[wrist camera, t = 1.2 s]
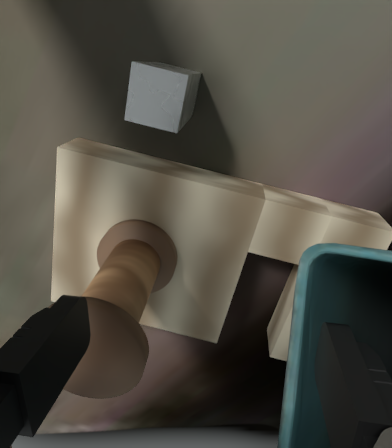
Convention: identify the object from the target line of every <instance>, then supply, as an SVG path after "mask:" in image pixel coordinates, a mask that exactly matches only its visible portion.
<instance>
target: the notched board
mask: <svg viewBox="0 0 392 448" xmlns="http://www.w3.org/2000/svg"><path fill="white" fill-rule="evenodd" d="M131 219H138V220H144V221H148V222H151V223H153V224H155V225H157V226H159V227H160V228H161V229H163V230H164V231H165V232H166V233H167V234H168V235H169V236H170V238H171V239H172V241H173V242H174V244H175V247H176V250H177V265H176V268H175V271H174V274H173V277H172V279H171V280H170V282H169V283H168V284H167V285H166V286H165V287H164V288H162V289H161V290H159V291H156V292H154V293H150V296H149V298H148V301H147V304H146V306H145V309H144V311H143V314H142V317H141V319H140V322H139V324H143V325H147V326H151V327H155V328H158V329H162V330H166V331H170V332H174V333H178V334H182V335H186V336H190V337H194V338H198V339H202V340H205V341H209V342H213V343H217V341H218V338H219V335H220V332H221V329H222V326H223V324H224V321H225V318H226V315H227V312H228V309H229V306H230V303H231V300H232V297H233V294H234V291H235V288H236V285H237V282H238V280H239V277H240V274H241V271H242V268H243V265H244V262H245V259H246V256H247V253H248V252H250V253H254V254H258V255H262V256H266V257H270V258H274V259H278V260H282V261H285V262H289V263H293V264H294V266H293V268H292V270H291V273H290V275H289V277H288V280H287V282H286V285H285V287H284V289H283V292H282V294H281V297H280V299H279V301H278V304H277V306H276V308H275V311H274V313H273V316H272V318H271V320H270V323H269V325H268V327H267V335H268V345H269V354H270V357H272V358H276V359H280V360H284V361H287V356H288V346H289V337H290V328H291V318H292V309H293V299H294V291H295V284H296V278H297V271H298V265H299V260H300V258H301V256H302V254H303V252H304V251H305V250H306V249H307V248H308V247H311V246H313V245H315V244H320V243H338V244H346V245H353V246H360V247H368V248H375V249H382V250H387V249H388V247H389V245H390V243H391V241H392V228H391V226H390V225H389V224H388V223H387V222H386V221H385V220H384V219H383V218H382V217H381V216H380V215H379V214H378V213H376V212H372V211H368V210H364V209H360V208H356V207H352V206H348V205H344V204H340V203H336V202H332V201H328V200H325V199H321V198H317V197H313V196H309V195H305V194H301V193H297V192H293V191H289V190H285V189H281V188H277V187H273V186H269V185H265V184H261V183H257V182H253V181H249V180H245V179H241V178H237V177H233V176H229V175H225V174H221V173H217V172H213V171H210V170H206V169H202V168H198V167H194V166H190V165H186V164H182V163H178V162H174V161H170V160H166V159H162V158H158V157H154V156H150V155H146V154H142V153H138V152H134V151H130V150H126V149H122V148H118V147H114V146H110V145H106V144H102V143H98V142H94V141H91V140H87V139H83V138H79V137H78V138H76V139H74V140H72V141H70V142H67V143H65V144H63V145H61V146H59V147H57V166H56V190H55V215H54V239H53V264H52V288H51V301H53V302H56V301H57V300H58V299H59V298H60V297H61V296H62V295H71V296H82V295H83V293H84V292H85V290H86V289H87V287H88V286H89V284H90V283H91V281H92V280H93V278H94V277H95V275H96V274H97V272H98V271H99V269H100V268H99V265H98V262H97V248H98V245H99V243H100V241H101V239H102V238H103V236H104V235H105V234H106V233H107V231H108V230H109V229H110V228H111V227H112V226H114V225H115V224H117V223H119V222H121V221H125V220H131Z"/></svg>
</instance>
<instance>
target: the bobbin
mask: <svg viewBox="0 0 392 448" xmlns="http://www.w3.org/2000/svg"><path fill="white" fill-rule="evenodd" d="M97 262H98V265H99V268H100V269H99V271H98V272H97V274H96V275H95V277H94V278H93V280H92V281H91V283H90V284H89V286H88V287H87V289H86V290H85V292H84V293H83V295H82V296H81V297H85V298H86V300H87V305H88V314H89V323H90V332H91V336H90V343H89V346H88V349H87V351H86V353H85V354H84V356H83V357H82V359H81V361H80V362H79V364H78V365H77V367H76V369H75V370H74V372H73V374H72V375H71V377H70V378H69V380H68V382H67V383H66V385H65V386H64V388H63V389H64V390H66V391H68V392H71V393H73V394H76V395H80V396H83V397H88V398H98V399H104V398H113V397H117V396H120V395H123V394H125V393H127V392H129V391H130V390H132V389H133V388H134V387H135V386H136V385H137V384H138V383H139V381H140V379H141V378H142V375H143V372H144V368H145V365H146V362H147V359H148V354H149V345H148V340H147V337H146V335H145V333H144V331H143V329H142V327H141V326H140V325H139V322H140V319H141V317H142V314H143V311H144V309H145V306H146V304H147V301H148V298H149V296H150V293H154V292H156V291H159V290H161V289H162V288H164V287H165V286H166V285H167V284H168V283H169V282H170V280H171V279H172V277H173V274H174V271H175V268H176V265H177V250H176V247H175V244H174V242H173V241H172V239H171V238H170V236H169V235H168V234H167V233H166V232H165V231H164V230H163V229H161V228H160V227H159V226H157V225H155V224H153V223H151V222H148V221H144V220H138V219H131V220H125V221H121V222H119V223H117V224H115V225H114V226H112V227H111V228H110V229H109V230H108V231H107V233H106V234H105V235H104V236H103V238H102V239H101V241H100V243H99V245H98V248H97ZM52 305H53V304H52ZM52 305H51V306H52ZM51 306H50V307H51ZM50 307H48V308H50Z"/></svg>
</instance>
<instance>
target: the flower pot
mask: <svg viewBox="0 0 392 448" xmlns="http://www.w3.org/2000/svg"><path fill="white" fill-rule="evenodd" d="M323 322H328V323H338V324H347V325H349V326H350V328H351V331H352V333H353V335H354V338H355V340H356V342H361V343H367V344H368V345H369V346H370V347H371V348H372V349H373V350H374V351H375V352H376V353H377V354H378V355H379V356H380V358H381V360H382V362H383V364H384V366H385V368H386V370H387V371H386V372H387V373H388V374H389V376H390V378H391V380H392V251H390V250H382V249H375V248H368V247H360V246H353V245H346V244H338V243H320V244H315V245H313V246H311V247H308V248H307V249H306V250H305V251H304V252H303V254H302V256H301V258H300V260H299V265H298V271H297V278H296V284H295V291H294V299H293V309H292V318H291V328H290V337H289V346H288V356H287V365H286V374H285V384H284V393H283V402H282V411H281V421H280V430H279V438H278V448H331V445H330V440H329V436H328V432H327V428H326V423H325V419H324V415H323V411H322V406H321V402H320V398H319V393H318V389H317V385H316V380H315V372H314V364H315V356H316V351H317V346H318V341H319V335H320V330H321V326H322V323H323Z"/></svg>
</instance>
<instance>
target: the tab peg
mask: <svg viewBox="0 0 392 448" xmlns="http://www.w3.org/2000/svg"><path fill="white" fill-rule="evenodd" d="M201 73H202V72H198V71H194V70H190V69H186V68H182V67H178V66H174V65H170V64H166V63H162V62H141V61H132V63H131V71H130V79H129V87H128V95H127V103H126V111H125V119H124V120H126V121H130V122H134V123H138V124H142V125H146V126H150V127H154V128H158V129H162V130H166V131H170V132H174V133H178V132H179V131H180V130H181V128H182V127H183V126H184V125H185V124H186V123H187V122H188V121H189V119H190V118H191V117H192V115H193V111H194V106H195V101H196V97H197V92H198V87H199V82H200V78H201Z"/></svg>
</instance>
